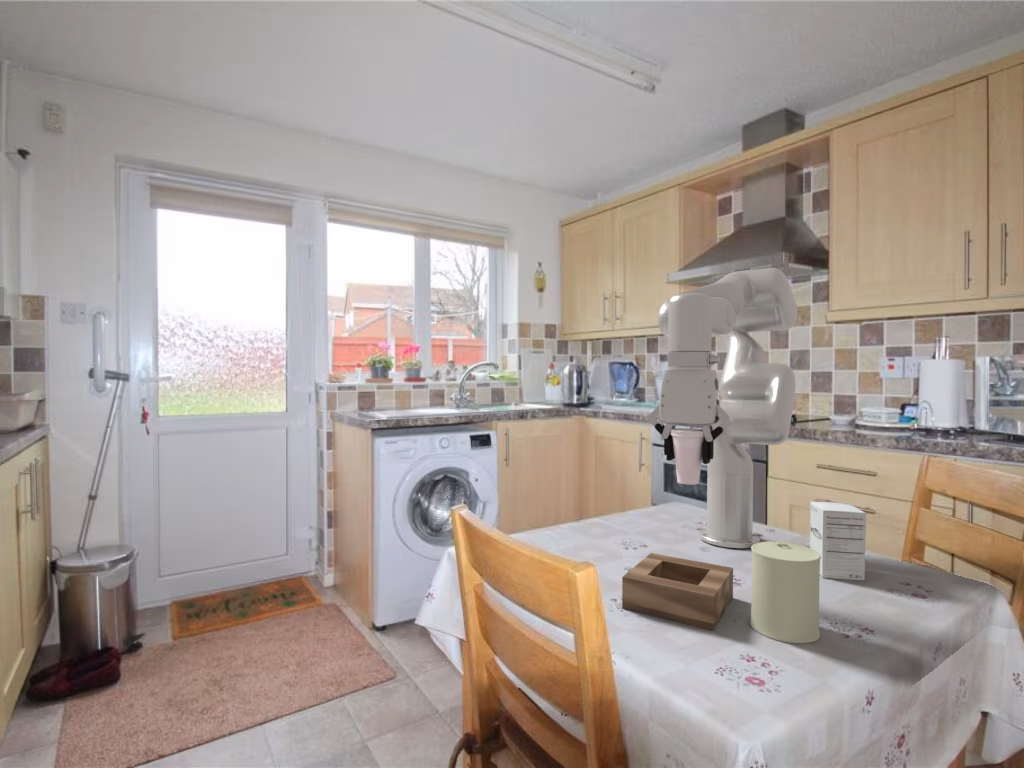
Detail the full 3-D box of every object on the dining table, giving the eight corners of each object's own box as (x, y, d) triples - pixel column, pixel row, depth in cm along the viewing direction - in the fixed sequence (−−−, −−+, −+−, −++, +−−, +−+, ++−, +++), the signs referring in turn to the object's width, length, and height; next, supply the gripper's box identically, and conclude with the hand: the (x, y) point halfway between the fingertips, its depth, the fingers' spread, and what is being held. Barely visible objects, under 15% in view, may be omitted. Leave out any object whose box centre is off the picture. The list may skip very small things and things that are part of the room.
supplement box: (808, 564, 108) (809, 500, 108) (849, 567, 106) (850, 502, 106) (821, 578, 101) (822, 509, 100) (866, 581, 99) (867, 511, 99)
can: (809, 618, 84) (810, 540, 84) (829, 647, 75) (830, 560, 75) (744, 612, 86) (745, 536, 86) (756, 639, 77) (757, 555, 77)
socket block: (650, 580, 99) (651, 552, 99) (732, 597, 92) (733, 567, 92) (622, 608, 87) (622, 576, 87) (713, 630, 80) (714, 596, 80)
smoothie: (709, 486, 97) (709, 407, 96) (671, 485, 98) (671, 406, 98) (704, 480, 103) (704, 405, 103) (668, 478, 104) (669, 404, 104)
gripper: (743, 362, 99) (742, 463, 99) (650, 363, 108) (649, 455, 108) (735, 361, 92) (734, 468, 92) (636, 362, 102) (635, 459, 102)
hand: (688, 460), depth 100 cm, fingers closed on smoothie, 5 cm apart
